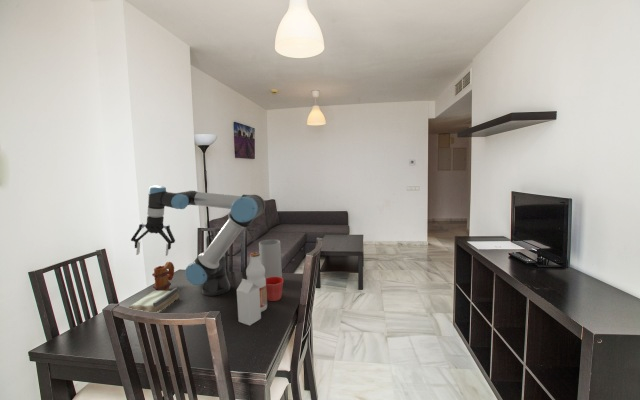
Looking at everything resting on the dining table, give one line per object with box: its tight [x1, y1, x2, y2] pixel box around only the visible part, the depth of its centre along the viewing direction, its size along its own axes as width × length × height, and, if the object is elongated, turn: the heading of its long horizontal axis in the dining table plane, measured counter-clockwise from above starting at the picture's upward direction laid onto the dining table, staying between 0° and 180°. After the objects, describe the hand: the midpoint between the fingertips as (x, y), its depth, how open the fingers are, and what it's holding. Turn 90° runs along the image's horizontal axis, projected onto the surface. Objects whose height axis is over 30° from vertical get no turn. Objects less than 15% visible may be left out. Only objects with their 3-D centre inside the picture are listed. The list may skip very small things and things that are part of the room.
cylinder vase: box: [258, 239, 283, 279], centre depth 173 cm, size 12×12×25 cm
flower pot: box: [266, 277, 284, 302], centre depth 154 cm, size 11×11×10 cm
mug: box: [152, 261, 175, 291], centre depth 169 cm, size 15×8×15 cm, turn 168°
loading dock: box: [128, 287, 180, 312], centre depth 149 cm, size 14×18×6 cm
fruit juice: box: [245, 251, 268, 313], centre depth 141 cm, size 9×9×28 cm
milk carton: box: [236, 278, 262, 326], centre depth 131 cm, size 7×7×19 cm
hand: (152, 254), depth 154 cm, fingers open, 13 cm apart
